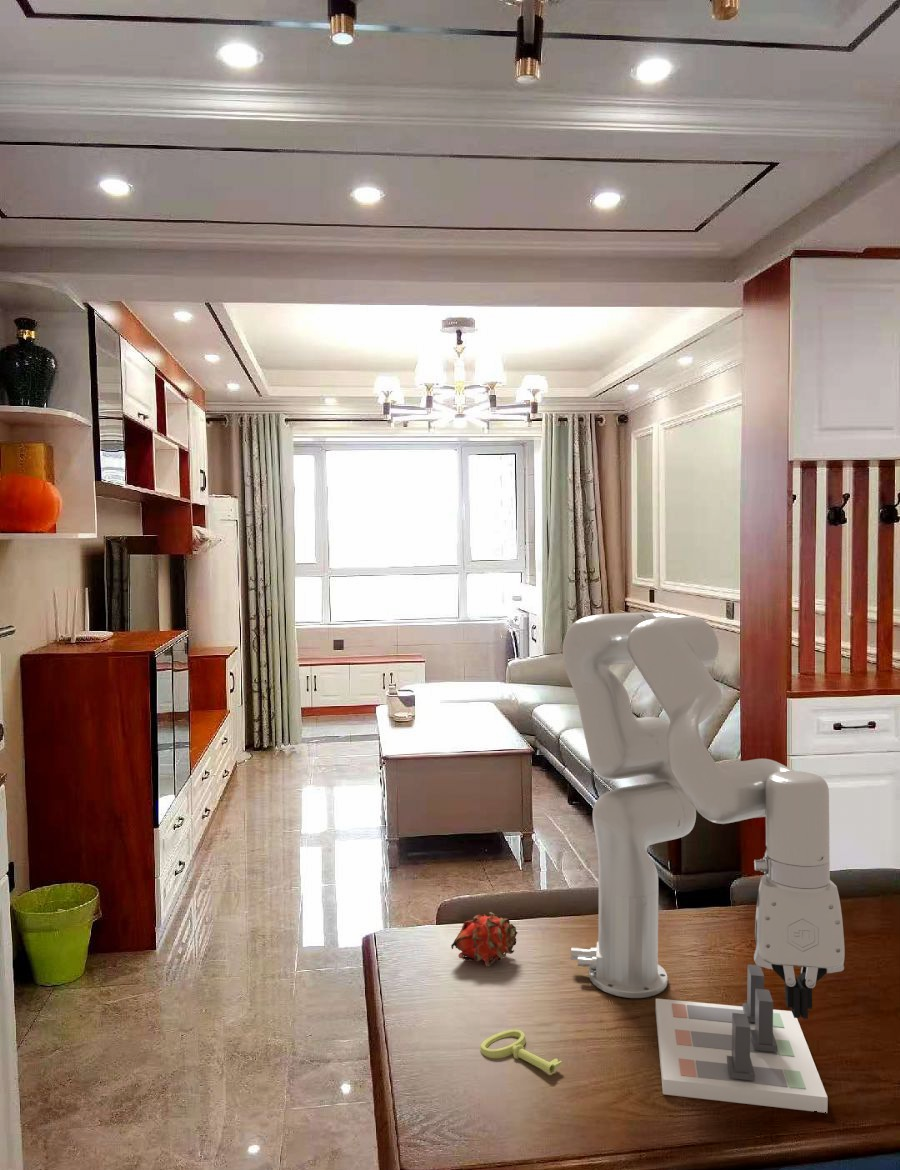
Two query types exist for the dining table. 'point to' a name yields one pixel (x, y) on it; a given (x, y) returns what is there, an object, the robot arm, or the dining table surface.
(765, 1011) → the middle switch
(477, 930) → the dragon fruit
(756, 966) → the far switch
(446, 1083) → the dining table surface
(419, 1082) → the dining table surface
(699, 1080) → the switch board
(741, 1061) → the switch
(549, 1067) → the key
